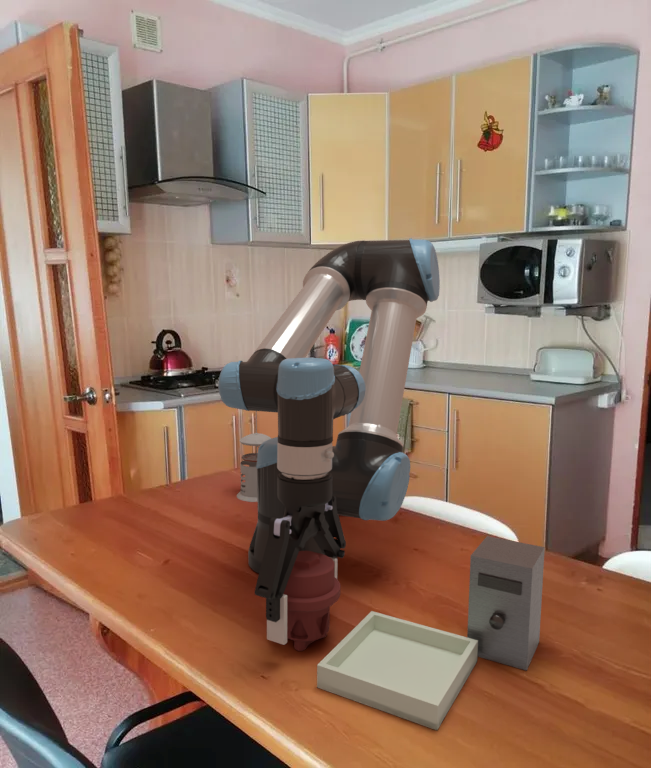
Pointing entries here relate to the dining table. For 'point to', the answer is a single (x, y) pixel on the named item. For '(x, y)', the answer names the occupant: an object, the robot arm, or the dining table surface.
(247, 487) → the french press
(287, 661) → the dining table surface
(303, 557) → the mechanical component
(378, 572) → the dining table surface
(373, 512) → the robot arm
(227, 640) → the dining table surface
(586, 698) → the dining table surface
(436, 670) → the tray
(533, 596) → the unit
